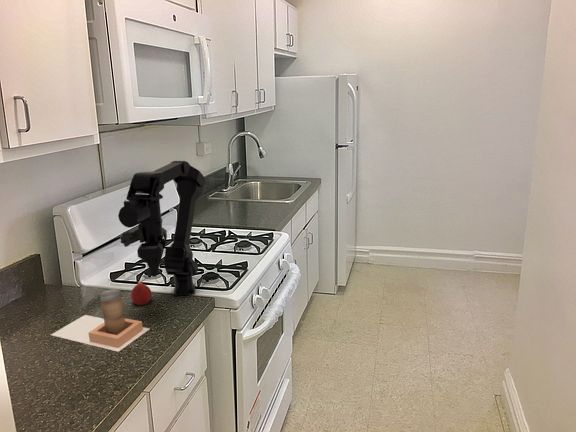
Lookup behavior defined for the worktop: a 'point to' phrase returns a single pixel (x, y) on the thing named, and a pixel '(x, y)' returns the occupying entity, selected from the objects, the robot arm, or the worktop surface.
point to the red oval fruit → (141, 294)
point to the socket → (115, 340)
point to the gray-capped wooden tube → (113, 311)
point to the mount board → (83, 327)
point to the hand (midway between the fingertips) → (156, 270)
